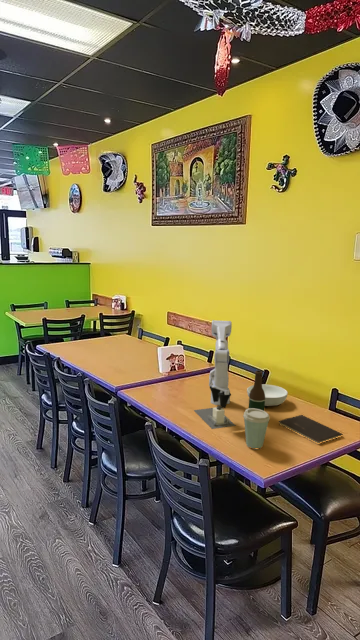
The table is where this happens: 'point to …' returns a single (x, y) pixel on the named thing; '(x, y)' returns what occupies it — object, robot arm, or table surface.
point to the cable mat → (209, 411)
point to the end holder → (213, 421)
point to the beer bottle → (257, 393)
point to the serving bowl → (272, 394)
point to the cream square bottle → (218, 414)
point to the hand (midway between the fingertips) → (219, 404)
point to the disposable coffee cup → (255, 427)
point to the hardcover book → (310, 428)
